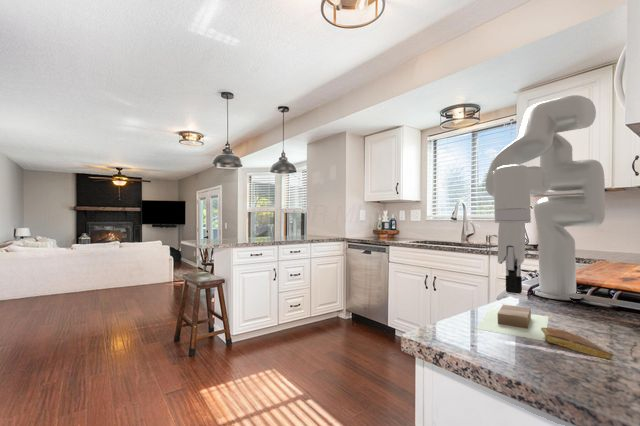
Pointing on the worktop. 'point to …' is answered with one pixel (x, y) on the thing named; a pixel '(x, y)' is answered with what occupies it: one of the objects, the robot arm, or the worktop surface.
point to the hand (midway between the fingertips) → (513, 292)
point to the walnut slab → (514, 316)
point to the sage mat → (532, 332)
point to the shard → (574, 342)
